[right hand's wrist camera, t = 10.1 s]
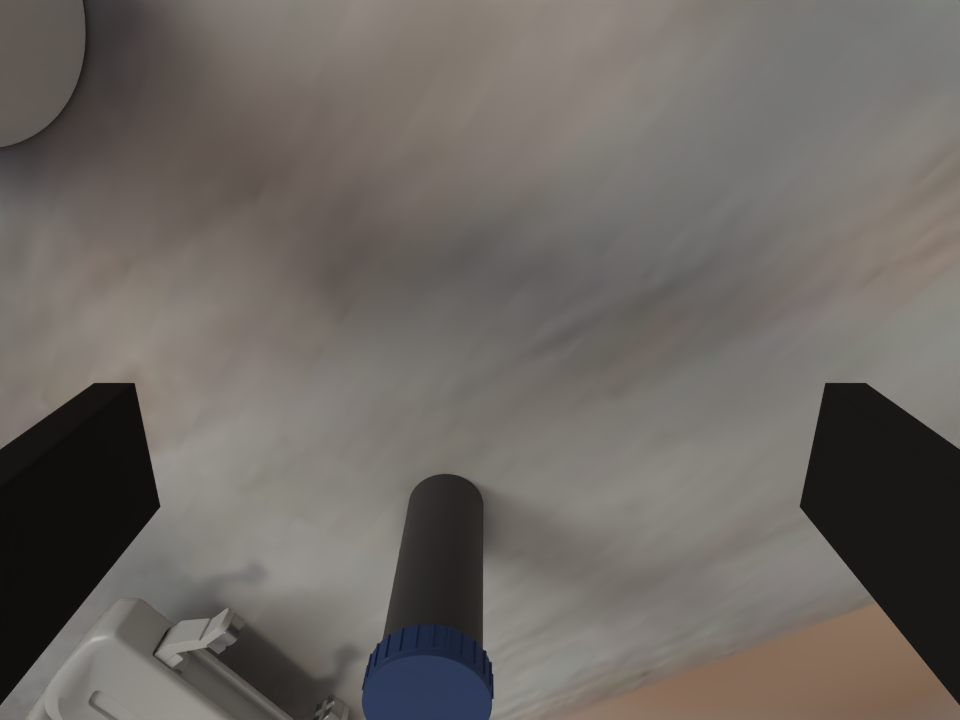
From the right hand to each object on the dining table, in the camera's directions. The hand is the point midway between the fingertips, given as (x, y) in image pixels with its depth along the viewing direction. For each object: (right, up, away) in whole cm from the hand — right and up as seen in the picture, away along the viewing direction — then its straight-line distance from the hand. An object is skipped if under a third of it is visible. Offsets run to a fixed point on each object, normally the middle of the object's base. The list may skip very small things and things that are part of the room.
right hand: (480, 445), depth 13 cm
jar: (-2, -8, +31) cm, 33 cm away
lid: (-2, -14, +17) cm, 22 cm away
